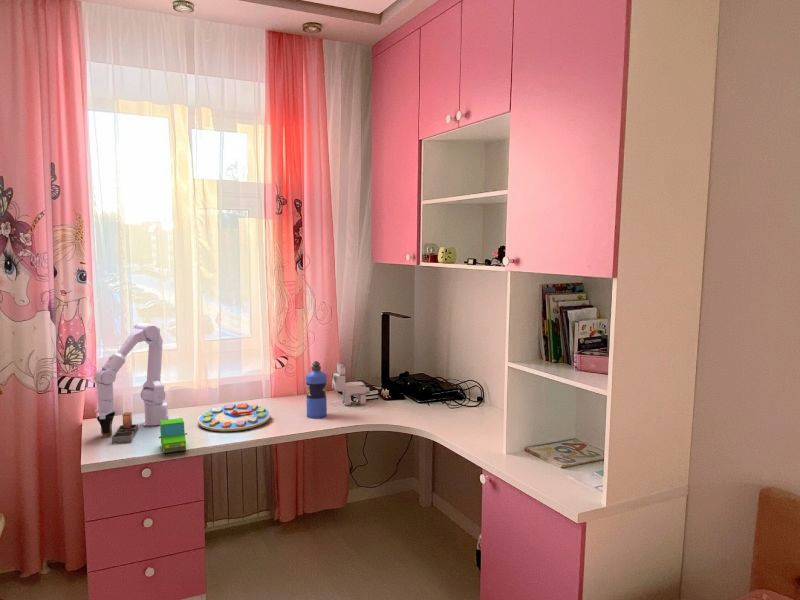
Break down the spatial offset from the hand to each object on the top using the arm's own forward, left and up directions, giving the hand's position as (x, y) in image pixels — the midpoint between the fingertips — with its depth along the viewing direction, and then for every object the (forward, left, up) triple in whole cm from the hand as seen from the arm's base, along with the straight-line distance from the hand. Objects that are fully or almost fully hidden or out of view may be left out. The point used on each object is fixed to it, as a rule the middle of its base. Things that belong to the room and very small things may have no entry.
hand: (107, 431), depth 247 cm
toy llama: (-105, -25, -2) cm, 108 cm away
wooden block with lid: (0, 0, -2) cm, 2 cm away
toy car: (-28, +24, -2) cm, 37 cm away
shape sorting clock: (-50, -7, -2) cm, 51 cm away
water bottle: (-86, -8, -2) cm, 86 cm away
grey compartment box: (-8, +3, -2) cm, 8 cm away
